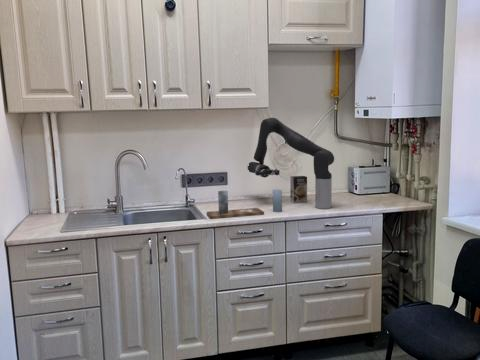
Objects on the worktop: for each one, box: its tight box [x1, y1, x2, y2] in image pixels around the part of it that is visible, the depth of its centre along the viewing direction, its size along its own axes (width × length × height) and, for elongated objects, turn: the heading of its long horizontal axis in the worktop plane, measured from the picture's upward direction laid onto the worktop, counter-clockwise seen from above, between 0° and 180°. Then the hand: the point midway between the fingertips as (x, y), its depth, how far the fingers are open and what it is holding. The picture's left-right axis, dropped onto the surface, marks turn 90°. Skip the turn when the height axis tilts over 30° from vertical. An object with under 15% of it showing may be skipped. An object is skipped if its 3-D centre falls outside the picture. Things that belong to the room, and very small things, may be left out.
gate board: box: [206, 190, 265, 220], centre depth 242 cm, size 30×12×14 cm, turn 104°
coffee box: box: [289, 175, 308, 204], centre depth 272 cm, size 9×6×16 cm
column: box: [272, 189, 283, 213], centre depth 247 cm, size 5×5×12 cm
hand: (270, 174), depth 256 cm, fingers open, 8 cm apart
